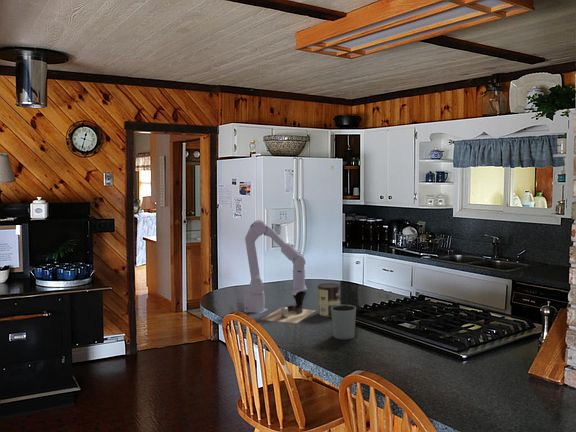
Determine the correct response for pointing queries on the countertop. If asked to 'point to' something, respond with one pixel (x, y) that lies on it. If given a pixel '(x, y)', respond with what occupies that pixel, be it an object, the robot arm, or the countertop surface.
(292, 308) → the c ring
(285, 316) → the piston post
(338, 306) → the grey cup
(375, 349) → the countertop surface
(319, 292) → the coffee can
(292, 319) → the board
